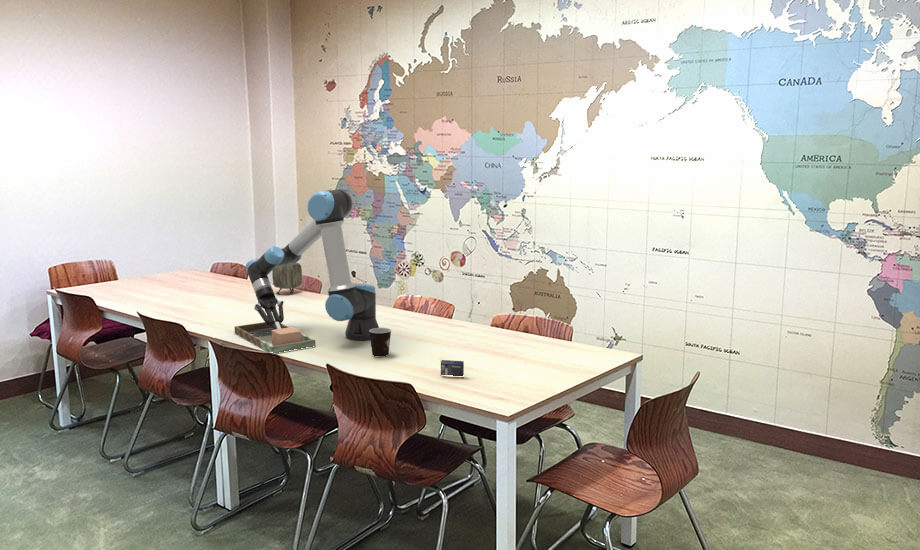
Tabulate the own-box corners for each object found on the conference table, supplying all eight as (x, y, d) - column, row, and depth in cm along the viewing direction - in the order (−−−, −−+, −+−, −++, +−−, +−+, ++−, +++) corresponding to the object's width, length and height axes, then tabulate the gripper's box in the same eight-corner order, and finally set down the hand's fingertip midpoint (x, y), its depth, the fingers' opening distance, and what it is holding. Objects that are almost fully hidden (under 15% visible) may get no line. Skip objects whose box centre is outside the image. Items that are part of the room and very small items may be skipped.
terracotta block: (301, 347, 317) (300, 331, 315) (280, 351, 311) (280, 334, 310) (292, 343, 324) (291, 327, 323) (272, 346, 319) (271, 330, 317)
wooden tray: (315, 346, 317) (315, 339, 317) (272, 354, 306) (271, 347, 306) (275, 327, 351) (275, 320, 350) (234, 333, 339) (234, 326, 339)
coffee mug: (382, 350, 312) (381, 326, 310) (395, 354, 306) (395, 330, 304) (359, 356, 304) (358, 331, 302) (372, 360, 298) (372, 335, 296)
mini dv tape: (440, 377, 278) (440, 361, 277) (441, 375, 279) (441, 360, 278) (463, 378, 276) (463, 362, 275) (463, 377, 278) (463, 361, 277)
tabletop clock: (293, 290, 434) (291, 247, 430) (304, 292, 429) (302, 248, 425) (273, 294, 423) (271, 250, 418) (284, 296, 417) (282, 251, 413)
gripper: (275, 294, 338) (292, 338, 328) (247, 297, 331) (263, 343, 320) (280, 284, 333) (297, 329, 323) (251, 287, 326) (268, 333, 315)
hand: (280, 336), depth 322 cm, fingers closed
